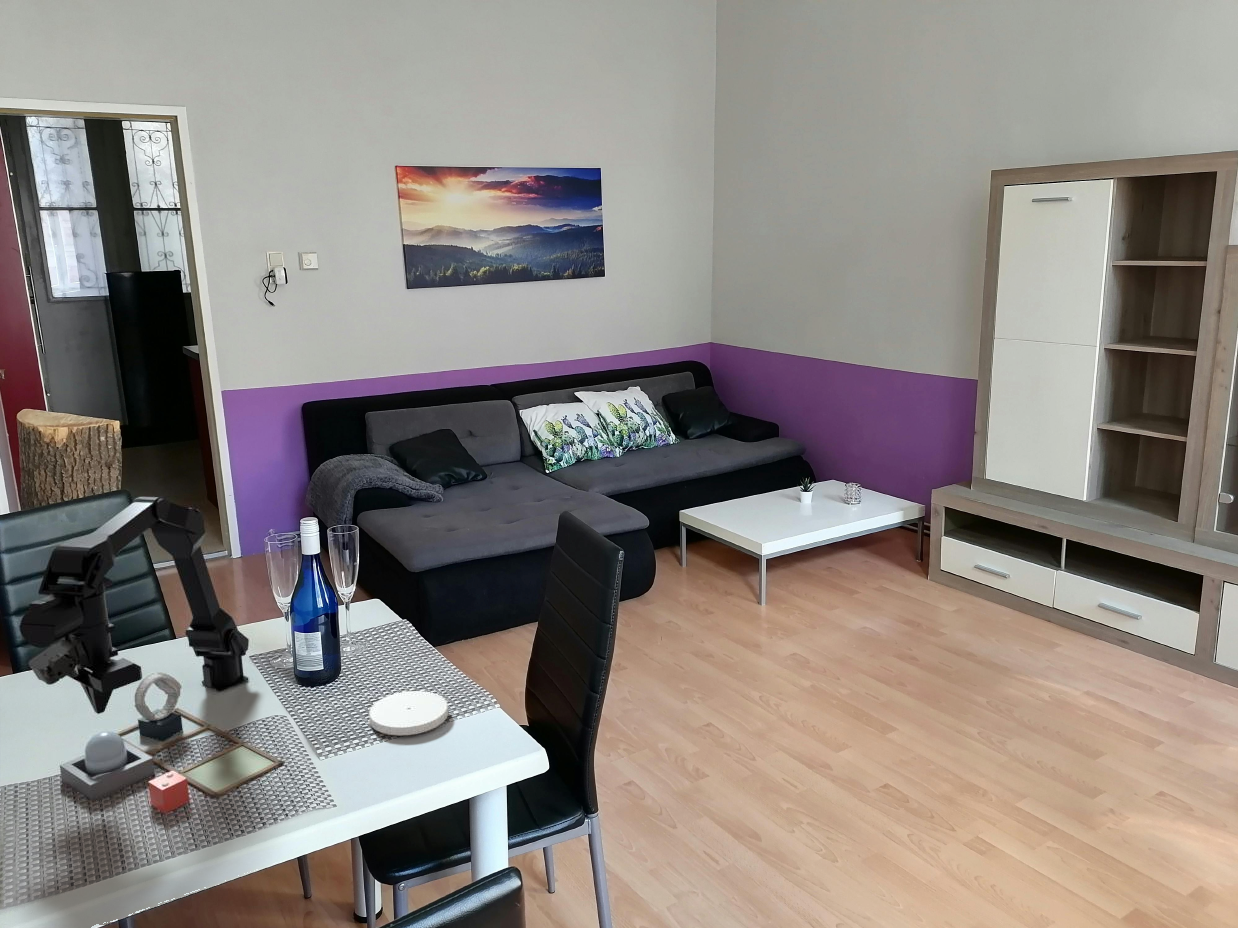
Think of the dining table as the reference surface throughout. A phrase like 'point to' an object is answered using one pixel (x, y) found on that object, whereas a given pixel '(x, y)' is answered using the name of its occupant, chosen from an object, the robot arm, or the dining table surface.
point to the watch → (160, 720)
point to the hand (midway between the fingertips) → (99, 712)
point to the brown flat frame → (217, 761)
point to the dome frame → (107, 775)
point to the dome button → (105, 753)
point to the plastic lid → (408, 713)
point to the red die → (169, 791)
